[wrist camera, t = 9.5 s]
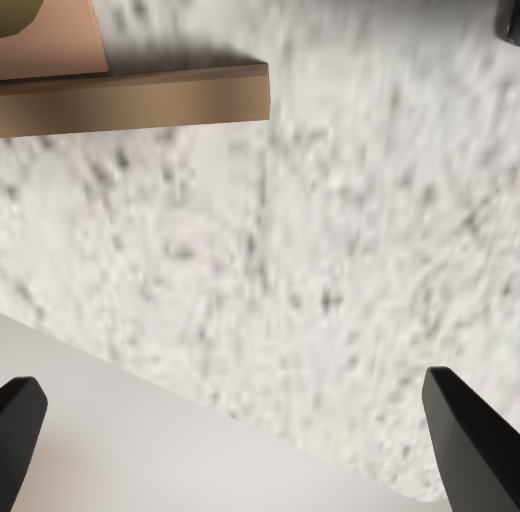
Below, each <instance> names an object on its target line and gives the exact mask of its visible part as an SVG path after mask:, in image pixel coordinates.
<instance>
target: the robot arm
mask: <svg viewBox="0 0 520 512" xmlns="http://www.w3.org/2000/svg"><path fill="white" fill-rule="evenodd" d="M519 33H520V0H516V2H515V6H514V10H513V14H512V19H511V23H510V27H509V32H508V40H509V42H510V43H511V44H512V45H514V46H519V47H520V37H519ZM422 401H423V405H424V410H425V414H426V418H427V423H428V427H429V431H430V436H431V440H432V444H433V449H434V453H435V457H436V461H437V465H438V469H439V473H440V476H441V479H442V482H443V485H444V488H445V491H446V493H447V496H448V499H449V502H450V505H451V508H452V510H453V512H520V433H518V432H517V431H516V430H515V429H514V428H513V427H512V426H511V425H510V424H509V423H508V422H507V421H506V420H505V419H504V418H502V417H501V416H500V415H499V414H498V413H497V412H496V411H495V410H494V409H493V408H492V407H491V406H490V405H489V404H487V403H486V402H485V401H484V400H483V399H482V398H481V397H480V396H479V395H478V394H477V393H476V392H475V391H474V390H472V389H471V388H470V387H469V386H468V385H467V384H466V383H465V382H464V381H463V380H462V379H461V378H460V377H459V376H458V375H456V374H455V373H454V372H453V371H452V370H451V369H450V368H448V367H445V366H439V367H429V368H428V369H427V371H426V375H425V379H424V384H423V388H422ZM47 405H48V401H47V397H46V395H45V393H44V392H43V390H42V388H41V387H40V385H39V383H38V381H37V380H36V379H35V378H34V377H31V376H27V377H15V378H13V379H12V380H10V381H9V382H8V383H6V384H5V385H4V386H3V387H1V388H0V512H11V509H12V507H13V504H14V502H15V500H16V497H17V495H18V493H19V490H20V488H21V486H22V483H23V481H24V478H25V475H26V473H27V470H28V467H29V464H30V461H31V458H32V455H33V452H34V448H35V445H36V442H37V439H38V436H39V433H40V429H41V426H42V423H43V420H44V417H45V413H46V410H47Z"/></svg>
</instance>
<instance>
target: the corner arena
mask: <svg viewBox="0 0 520 512" xmlns="http://www.w3.org/2000/svg"><path fill="white" fill-rule="evenodd" d="M107 71H109V67H108V63H107V59H106V55H105V51H104V48H103V44H102V40H101V36H100V32H99V28H98V24H97V21H96V17H95V13H94V9H93V5H92V1H91V0H44V1H43V3H42V5H41V7H40V9H39V11H38V13H37V15H36V17H35V19H34V21H33V22H32V23H31V24H29V25H28V26H27V27H26V28H24V29H23V30H22V31H21V32H19V33H18V34H16V35H12V36H8V37H4V38H0V80H7V79H19V78H32V77H45V76H58V75H70V74H83V73H96V72H107ZM269 117H270V87H269V70H268V63H264V64H251V65H238V66H225V67H212V68H199V69H186V70H173V71H161V72H148V73H135V74H122V75H109V76H96V77H83V78H70V79H57V80H45V81H32V82H19V83H6V84H0V138H7V137H21V136H36V135H51V134H66V133H81V132H95V131H110V130H125V129H140V128H155V127H169V126H184V125H199V124H214V123H229V122H243V121H258V120H269Z"/></svg>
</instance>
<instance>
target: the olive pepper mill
mask: <svg viewBox="0 0 520 512" xmlns="http://www.w3.org/2000/svg"><path fill="white" fill-rule="evenodd" d="M43 1H44V0H0V38H4V37H8V36H12V35H16V34H18V33H19V32H21V31H22V30H23V29H24V28H26V27H27V26H28V25H29V24H31V23H32V22H33V21H34V19H35V17H36V15H37V13H38V11H39V9H40V7H41V5H42V3H43Z"/></svg>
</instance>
